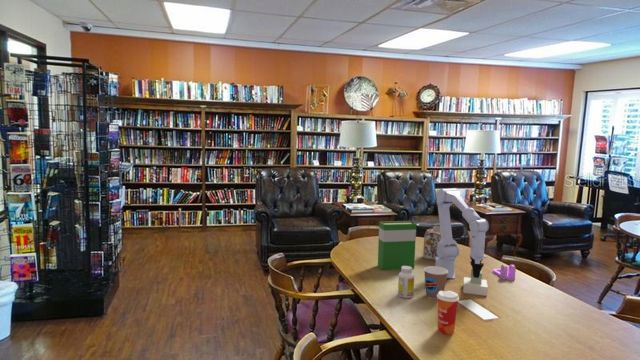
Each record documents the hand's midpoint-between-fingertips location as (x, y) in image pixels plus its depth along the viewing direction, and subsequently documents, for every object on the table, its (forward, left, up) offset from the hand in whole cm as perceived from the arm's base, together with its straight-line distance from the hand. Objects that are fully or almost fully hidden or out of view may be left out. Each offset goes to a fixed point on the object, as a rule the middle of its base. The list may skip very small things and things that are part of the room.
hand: (475, 274), depth 190 cm
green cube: (0, 0, -3) cm, 3 cm away
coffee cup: (-17, -14, -8) cm, 23 cm away
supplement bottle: (-29, -18, -8) cm, 35 cm away
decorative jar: (-20, +46, -8) cm, 51 cm away
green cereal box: (-39, +20, -8) cm, 45 cm away
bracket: (+14, +28, -8) cm, 32 cm away
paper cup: (-11, -46, -8) cm, 48 cm away
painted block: (0, 0, -7) cm, 7 cm away
